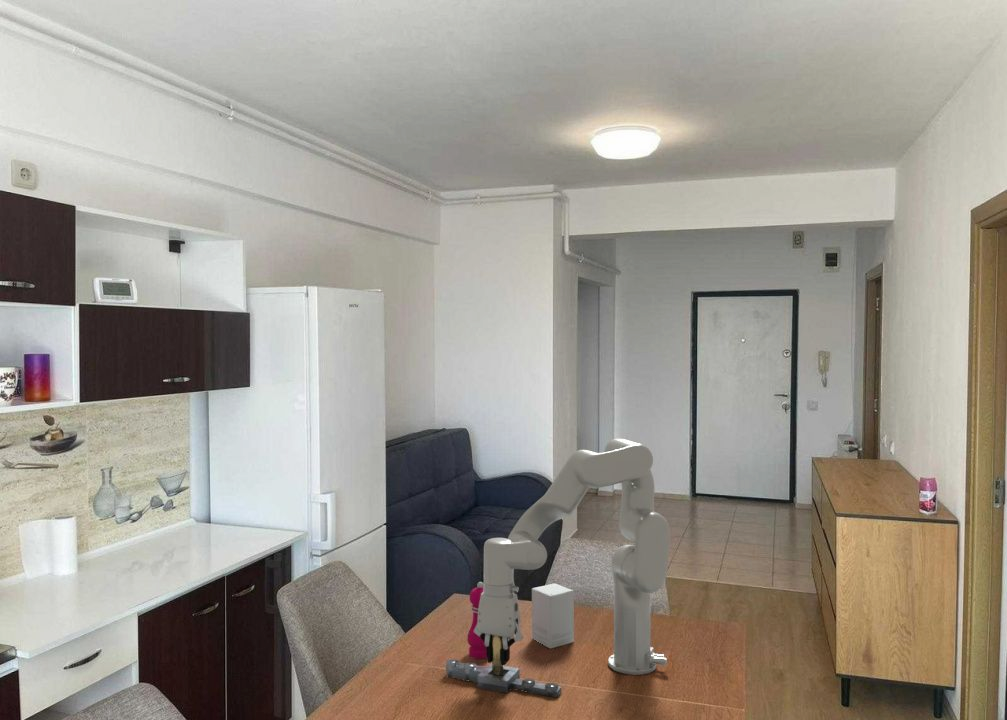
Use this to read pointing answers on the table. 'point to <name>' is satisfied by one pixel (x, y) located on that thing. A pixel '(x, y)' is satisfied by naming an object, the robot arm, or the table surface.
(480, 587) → the pepper mill
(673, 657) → the table surface
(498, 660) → the brass pin
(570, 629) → the supplement box
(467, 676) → the chain ends
